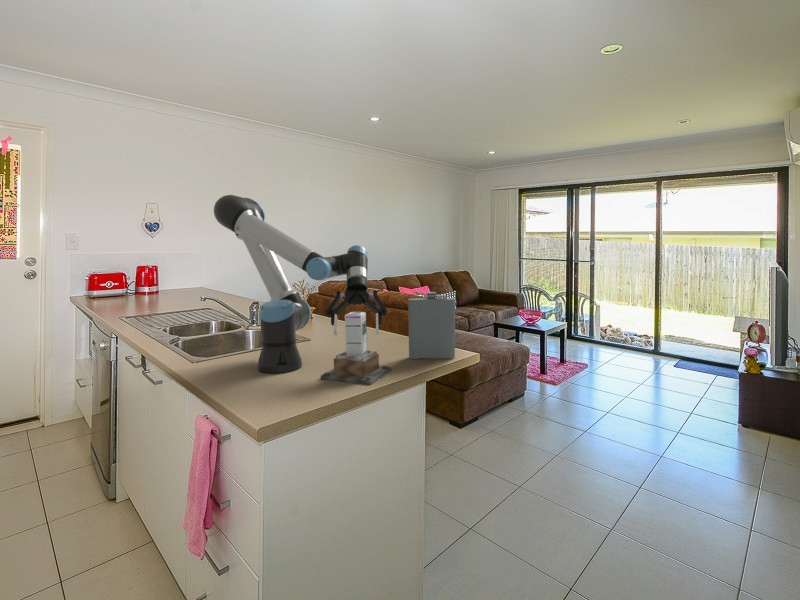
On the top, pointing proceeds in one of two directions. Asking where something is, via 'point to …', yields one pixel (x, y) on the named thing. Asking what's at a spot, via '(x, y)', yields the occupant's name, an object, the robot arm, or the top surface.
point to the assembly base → (355, 379)
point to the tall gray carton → (431, 327)
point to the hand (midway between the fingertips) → (356, 332)
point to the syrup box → (356, 334)
